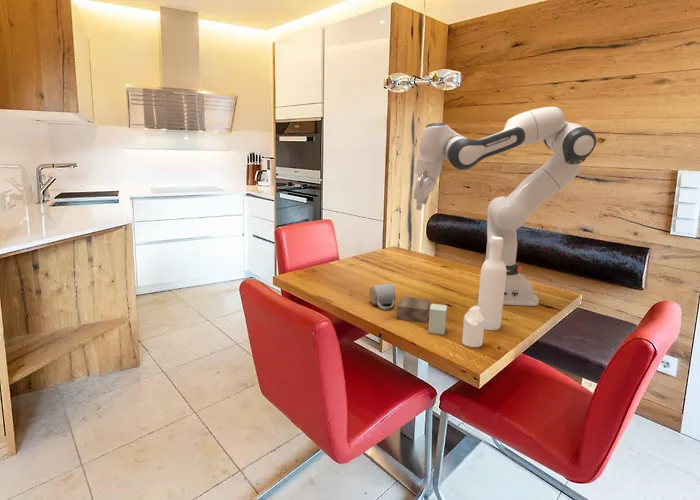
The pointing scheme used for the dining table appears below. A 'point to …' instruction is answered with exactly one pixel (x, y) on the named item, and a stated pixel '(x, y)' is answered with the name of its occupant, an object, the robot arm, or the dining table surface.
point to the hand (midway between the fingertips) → (421, 206)
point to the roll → (473, 327)
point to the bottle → (492, 286)
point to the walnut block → (413, 309)
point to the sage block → (437, 319)
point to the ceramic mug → (383, 295)
